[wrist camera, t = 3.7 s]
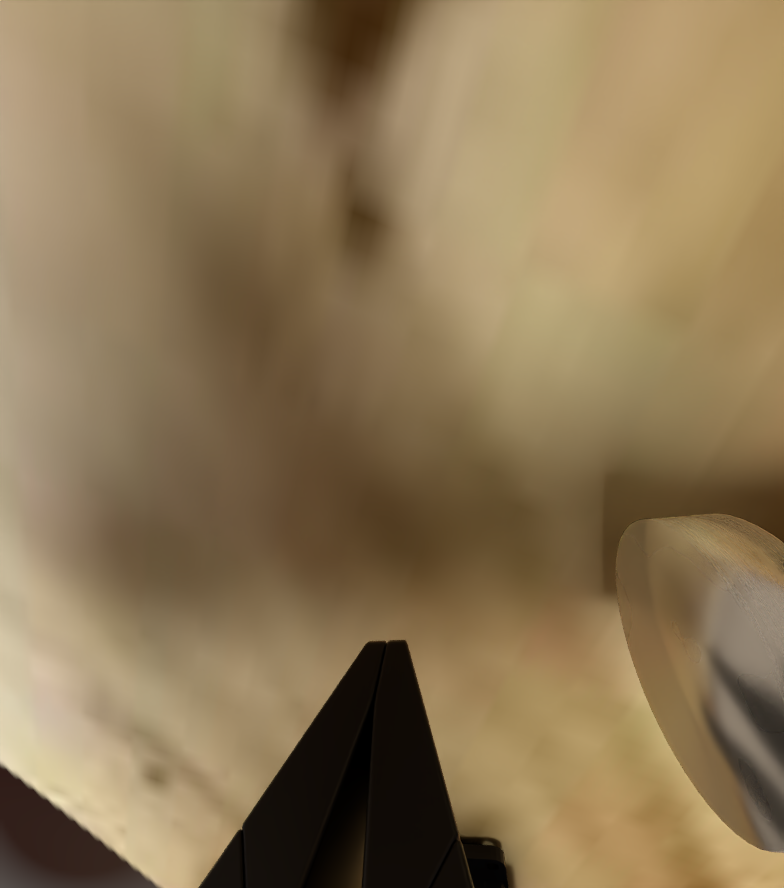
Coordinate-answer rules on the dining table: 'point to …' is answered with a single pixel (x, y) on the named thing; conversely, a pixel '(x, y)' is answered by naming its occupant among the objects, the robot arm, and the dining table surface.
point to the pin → (713, 657)
